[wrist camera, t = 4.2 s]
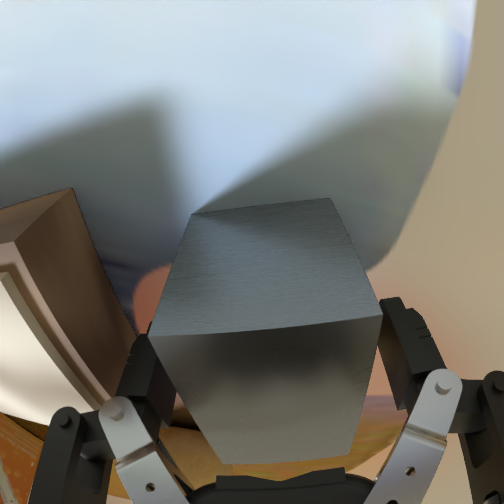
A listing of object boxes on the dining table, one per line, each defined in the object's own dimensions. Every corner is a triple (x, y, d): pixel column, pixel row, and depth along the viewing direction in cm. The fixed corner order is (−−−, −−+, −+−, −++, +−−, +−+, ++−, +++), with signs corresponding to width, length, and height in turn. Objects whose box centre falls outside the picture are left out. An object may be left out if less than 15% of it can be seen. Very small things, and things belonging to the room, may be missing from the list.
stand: (-63, 232, 12) (-107, 276, 8) (72, 187, 11) (5, 250, 7) (22, 370, 18) (0, 417, 15) (161, 381, 17) (147, 449, 14)
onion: (235, 457, 24) (232, 529, 18) (147, 448, 24) (134, 516, 18) (233, 417, 20) (227, 514, 14) (120, 405, 20) (98, 493, 14)
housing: (191, 213, 12) (147, 336, 7) (329, 196, 11) (383, 314, 6) (234, 369, 17) (229, 472, 12) (328, 360, 16) (345, 463, 11)
